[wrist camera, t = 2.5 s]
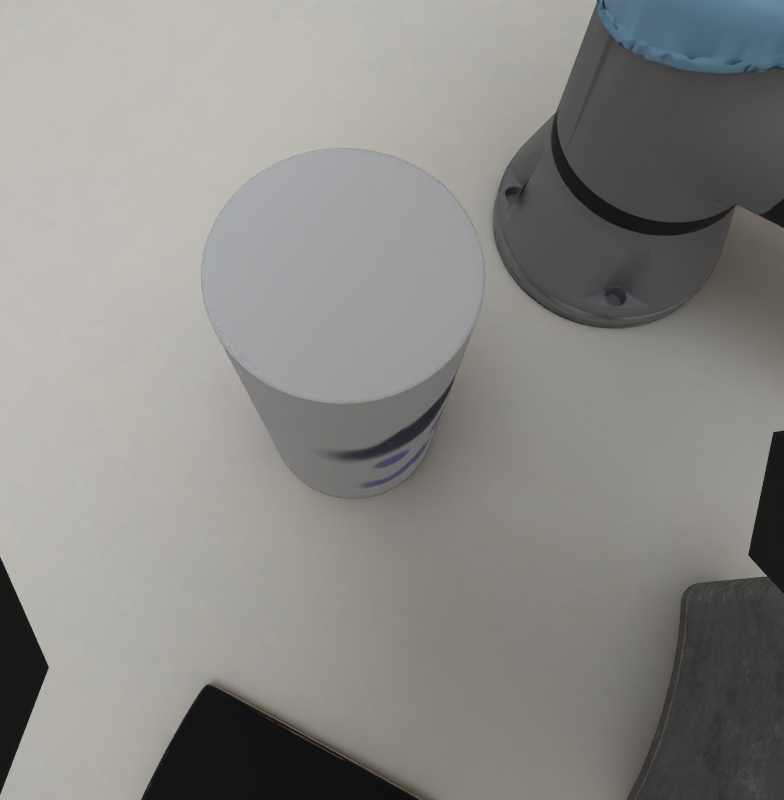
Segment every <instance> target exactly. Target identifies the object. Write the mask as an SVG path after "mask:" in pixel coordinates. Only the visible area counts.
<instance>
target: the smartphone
mask: <svg viewBox="0 0 784 800" xmlns="http://www.w3.org/2000/svg"><path fill="white" fill-rule="evenodd" d="M141 800H423V799H421V798H419V797H417V796H415V795H414V794H412V793H410V792H408V791H407V790H405V789H403V788H401V787H400V786H398V785H396V784H394V783H392V782H391V781H389V780H387V779H385V778H383V777H382V776H380V775H378V774H376V773H375V772H373V771H371V770H369V769H367V768H366V767H364V766H362V765H360V764H358V763H357V762H355V761H353V760H351V759H349V758H348V757H346V756H344V755H342V754H340V753H339V752H337V751H335V750H333V749H331V748H330V747H328V746H326V745H324V744H322V743H321V742H319V741H317V740H315V739H313V738H311V737H310V736H308V735H306V734H304V733H302V732H300V731H299V730H297V729H295V728H293V727H291V726H290V725H288V724H286V723H284V722H282V721H280V720H279V719H277V718H275V717H273V716H271V715H269V714H268V713H266V712H264V711H262V710H260V709H258V708H257V707H255V706H253V705H251V704H249V703H247V702H245V701H244V700H242V699H240V698H238V697H236V696H234V695H232V694H231V693H229V692H227V691H225V690H223V689H221V688H219V687H217V686H215V685H213V684H208V685H206V686H205V687H204V688H203V689H202V690H201V692H200V693H199V695H198V696H197V698H196V700H195V701H194V703H193V704H192V706H191V708H190V709H189V711H188V712H187V714H186V716H185V717H184V719H183V721H182V723H181V724H180V726H179V728H178V730H177V732H176V733H175V735H174V737H173V739H172V740H171V742H170V744H169V746H168V747H167V749H166V751H165V753H164V755H163V757H162V759H161V761H160V763H159V765H158V767H157V769H156V770H155V772H154V774H153V776H152V778H151V780H150V782H149V784H148V786H147V788H146V790H145V793H144V795H143V797H142V799H141Z"/></svg>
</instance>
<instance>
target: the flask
mask: <svg viewBox="0 0 784 800" xmlns="http://www.w3.org/2000/svg"><path fill="white" fill-rule="evenodd" d="M627 800H784V594H783V593H782V592H781V591H780V590H779V588H778V587H777V586H776V585H775V584H774V583H773V582H772V581H771V580H770V579H769V577H768V576H767V577H757V578H747V579H736V580H726V581H715V582H705V583H697V584H694V585H692V586H690V587H689V588H688V589H687V590H686V591H685V593H684V595H683V597H682V602H681V618H680V629H679V638H678V645H677V651H676V657H675V663H674V668H673V673H672V677H671V682H670V686H669V690H668V693H667V697H666V701H665V705H664V708H663V712H662V716H661V719H660V722H659V725H658V729H657V732H656V735H655V737H654V740H653V743H652V746H651V748H650V751H649V754H648V756H647V759H646V761H645V763H644V766H643V768H642V770H641V772H640V775H639V777H638V779H637V781H636V783H635V785H634V787H633V789H632V791H631V793H630V795H629V797H628V799H627Z"/></svg>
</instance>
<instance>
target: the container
mask: <svg viewBox="0 0 784 800" xmlns="http://www.w3.org/2000/svg"><path fill="white" fill-rule="evenodd" d="M201 286H202V294H203V300H204V304H205V308H206V311H207V314H208V317H209V319H210V322H211V324H212V326H213V328H214V330H215V332H216V334H217V336H218V338H219V340H220V342H221V343H222V345H223V347H224V349H225V351H226V353H227V355H228V357H229V358H230V360H231V362H232V364H233V366H234V368H235V370H236V372H237V373H238V375H239V377H240V379H241V381H242V383H243V385H244V387H245V389H246V390H247V392H248V394H249V396H250V398H251V400H252V402H253V404H254V405H255V407H256V409H257V411H258V413H259V415H260V417H261V419H262V420H263V422H264V424H265V426H266V428H267V430H268V432H269V434H270V435H271V437H272V439H273V441H274V443H275V445H276V447H277V449H278V450H279V452H280V454H281V456H282V458H283V460H284V461H285V463H286V464H287V466H288V467H289V468H290V469H291V471H292V472H293V473H294V474H295V475H296V476H297V477H298V478H299V479H301V480H302V481H303V482H304V483H306V484H307V485H309V486H310V487H312V488H314V489H316V490H318V491H320V492H323V493H325V494H328V495H332V496H336V497H342V498H364V497H370V496H374V495H377V494H380V493H383V492H386V491H388V490H390V489H392V488H394V487H395V486H397V485H399V484H400V483H401V482H403V481H404V480H405V479H407V478H408V477H409V476H410V475H411V474H412V473H413V472H414V471H415V469H416V468H417V467H418V466H419V464H420V463H421V461H422V460H423V458H424V456H425V454H426V452H427V450H428V448H429V445H430V442H431V440H432V437H433V434H434V432H435V429H436V426H437V424H438V421H439V418H440V416H441V413H442V410H443V408H444V405H445V402H446V400H447V397H448V394H449V392H450V389H451V386H452V384H453V381H454V378H455V375H456V373H457V370H458V368H459V365H460V362H461V360H462V357H463V354H464V352H465V349H466V346H467V344H468V341H469V338H470V336H471V333H472V330H473V328H474V325H475V322H476V320H477V317H478V314H479V311H480V308H481V304H482V300H483V295H484V287H485V264H484V257H483V252H482V247H481V243H480V240H479V237H478V235H477V232H476V230H475V227H474V225H473V223H472V221H471V219H470V218H469V216H468V214H467V213H466V211H465V210H464V208H463V207H462V205H461V204H460V203H459V201H458V200H457V199H456V198H455V197H454V196H453V194H452V193H451V192H450V191H449V190H448V189H447V188H446V187H445V186H443V185H442V184H441V183H440V182H439V181H438V180H436V179H435V178H434V177H432V176H431V175H429V174H428V173H426V172H425V171H423V170H422V169H420V168H418V167H416V166H414V165H412V164H410V163H408V162H406V161H404V160H401V159H399V158H396V157H393V156H390V155H387V154H383V153H379V152H375V151H369V150H362V149H350V148H337V149H324V150H317V151H312V152H307V153H303V154H300V155H296V156H293V157H291V158H288V159H285V160H283V161H281V162H278V163H276V164H274V165H272V166H270V167H268V168H267V169H265V170H263V171H262V172H260V173H259V174H257V175H256V176H254V177H253V178H252V179H250V180H249V181H248V182H247V183H245V184H244V185H243V186H242V187H241V188H240V189H239V190H238V191H237V192H236V193H235V194H234V195H233V196H232V197H231V198H230V200H229V201H228V202H227V203H226V205H225V206H224V207H223V209H222V210H221V212H220V213H219V215H218V217H217V218H216V220H215V222H214V224H213V226H212V228H211V231H210V233H209V235H208V238H207V241H206V245H205V248H204V253H203V258H202V267H201Z"/></svg>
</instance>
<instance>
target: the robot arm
mask: <svg viewBox="0 0 784 800" xmlns="http://www.w3.org/2000/svg"><path fill="white" fill-rule="evenodd" d="M736 205H739V206H741V207H743V208H745V209H747V210H749V211H751V212H753V213H755V214H757V215H759V216H761V217H763V218H765V219H767V220H769V221H771V222H773V223H775V224H777V225H779V226H780V227H783V228H784V0H597V4H596V6H595V9H594V12H593V15H592V17H591V20H590V23H589V25H588V28H587V31H586V33H585V36H584V39H583V41H582V44H581V47H580V50H579V52H578V55H577V58H576V60H575V63H574V66H573V68H572V71H571V74H570V77H569V79H568V82H567V85H566V87H565V90H564V93H563V95H562V98H561V101H560V104H559V106H558V109H557V111H556V113H555V114H554V115H553V116H552V117H551V118H550V119H549V120H548V121H547V122H546V123H545V124H544V125H543V126H542V127H541V128H540V129H539V130H538V131H537V132H536V133H535V134H534V135H533V136H532V137H531V138H530V139H529V140H528V141H527V142H526V143H525V144H524V145H523V146H522V147H521V148H520V150H519V151H518V152H517V153H516V155H515V156H514V158H513V159H512V161H511V162H510V164H509V165H508V167H507V169H506V171H505V173H504V175H503V178H502V181H501V184H500V187H499V190H498V193H497V197H496V201H495V205H494V214H493V225H494V234H495V238H496V243H497V246H498V249H499V252H500V254H501V257H502V259H503V261H504V263H505V265H506V267H507V268H508V270H509V272H510V273H511V274H512V276H513V277H514V279H515V280H516V281H517V282H518V283H519V285H520V286H521V287H522V288H523V289H524V290H525V291H526V292H527V293H528V294H529V295H530V296H531V297H533V298H534V299H535V300H536V301H538V302H539V303H540V304H542V305H543V306H545V307H546V308H548V309H550V310H551V311H553V312H555V313H557V314H559V315H561V316H563V317H566V318H568V319H571V320H574V321H577V322H580V323H583V324H588V325H592V326H599V327H610V328H620V327H631V326H638V325H642V324H646V323H649V322H652V321H655V320H658V319H660V318H662V317H665V316H667V315H668V314H670V313H672V312H673V311H675V310H676V309H678V308H679V307H680V306H682V305H683V304H684V303H685V302H686V301H687V300H688V299H689V298H690V297H691V296H692V295H693V294H694V293H696V292H697V291H698V290H699V289H700V288H701V286H702V285H703V284H704V283H705V282H706V280H707V279H708V278H709V276H710V275H711V273H712V271H713V269H714V267H715V265H716V263H717V261H718V259H719V257H720V255H721V252H722V249H723V246H724V242H725V239H726V236H727V233H728V229H729V226H730V223H731V219H732V216H733V213H734V209H735V206H736ZM748 555H749V556H750V558H751V559H752V560H753V561H754V562H755V563H756V564H757V565H758V566H759V567H760V569H761V570H762V571H763V572H764V573H765V574H766V575H767V576H768V577H769V579H770V580H771V581H772V582H773V583H774V584H775V585H776V586H777V587H778V588H779V590H780V591H781V592H782V593H783V594H784V431H778V432H773V437H772V442H771V447H770V452H769V457H768V461H767V466H766V471H765V476H764V481H763V486H762V491H761V496H760V500H759V505H758V510H757V515H756V520H755V525H754V530H753V535H752V539H751V544H750V549H749V554H748ZM48 668H49V666H48V664H47V662H46V660H45V657H44V655H43V653H42V651H41V648H40V646H39V644H38V641H37V639H36V637H35V635H34V632H33V630H32V628H31V626H30V623H29V621H28V619H27V617H26V614H25V612H24V610H23V607H22V605H21V603H20V601H19V598H18V596H17V594H16V592H15V589H14V587H13V585H12V583H11V580H10V578H9V576H8V573H7V571H6V569H5V567H4V564H3V562H2V560H1V558H0V794H1V791H2V788H3V786H4V783H5V781H6V778H7V775H8V773H9V770H10V767H11V765H12V762H13V760H14V757H15V754H16V752H17V749H18V747H19V744H20V741H21V739H22V736H23V733H24V731H25V728H26V726H27V723H28V720H29V718H30V715H31V713H32V710H33V707H34V705H35V702H36V699H37V697H38V694H39V692H40V689H41V686H42V684H43V681H44V678H45V676H46V673H47V671H48Z"/></svg>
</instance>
